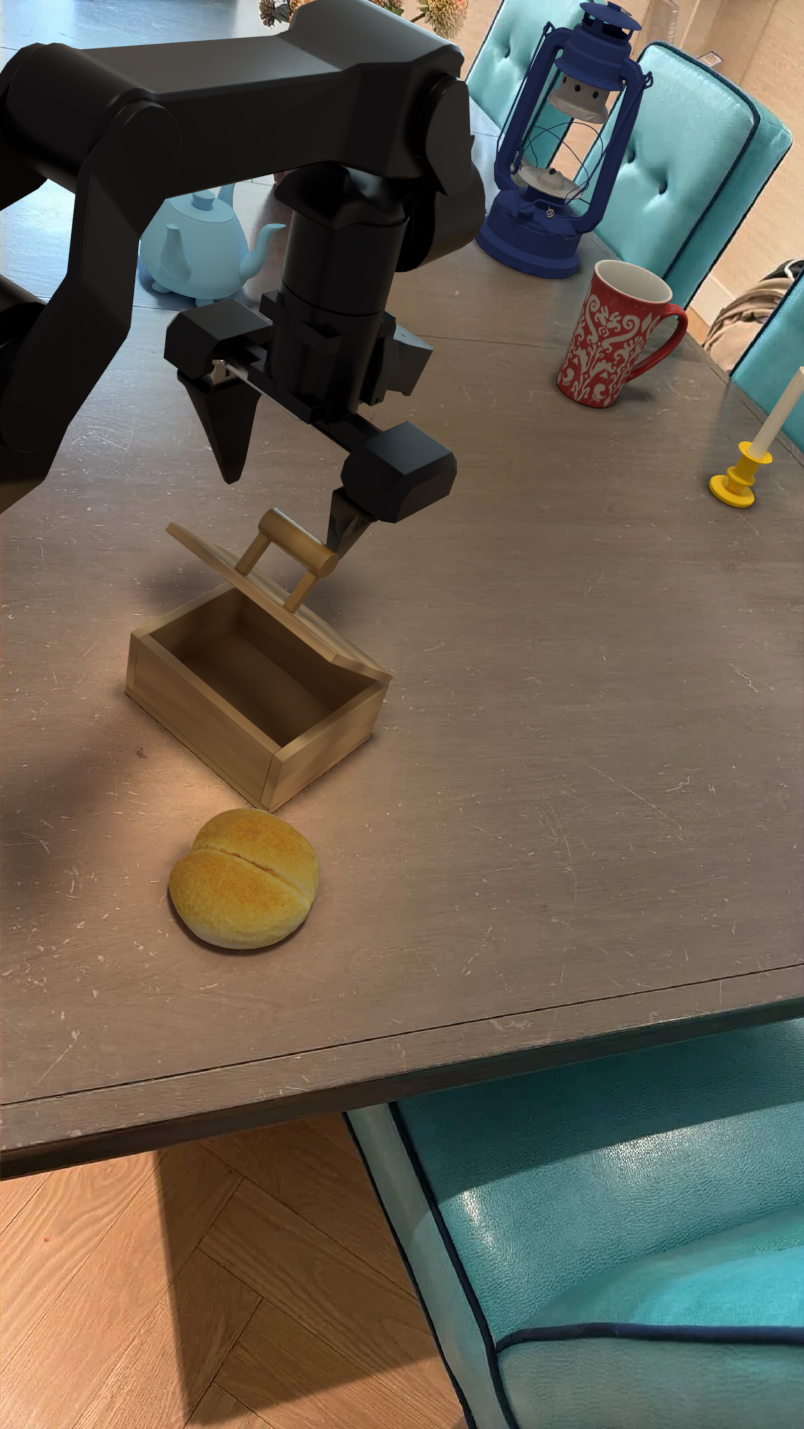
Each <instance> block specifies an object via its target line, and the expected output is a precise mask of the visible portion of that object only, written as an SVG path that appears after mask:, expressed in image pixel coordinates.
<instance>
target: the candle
mask: <svg viewBox="0 0 804 1429" xmlns="http://www.w3.org/2000/svg"><path fill="white" fill-rule="evenodd" d="M803 393H804V366H803V365H802V366H800V367H799V368H798V369H797V371H796V373H795V374H794V375H793V377H792V379H791V380H790V382H789V383H788V385H787V386H786V388H785V389H784V391H783V393H782V395H781V396H780V397H779V399H778V400H777V402H776V404H775V406H774V407H773V409H772V410H771V412H770V414H769V415H768V416H767V418H766V420H765V422H764V423H763V425H762V426H761V428H760V430H759V431H758V433H757V435H756V436H755V438H754V439H753V441H745V440H744V441H741V442H739V444H738V450H739V452H740V453H741V457H740V458H738V460H737V462H736V465H732V466H729V467H728V468H727V470H726V472H725V473H726V475H725V474H717V475H714V476H712V477H711V478H710V480H709V481H708V488H709V490H710V492H711V493H712V495H713V496H715V497H716V499H718V500H719V501H721V502H723V503H725V504H727V505H728V506H731V507H734V508H738V509H746V508H749V507H751V506H752V505H753V503H754V501H755V495H754V493H753V490H751V487H752V486H754V484H755V483H756V479H755V476H754V475H755V474H756V473H757V471H758V469H759V466H761V465H769V464H771V463H772V462H773V456H772V454H771V453H770V452H769V451H768V449H769V448H770V446H771V445H772V443H773V441H774V439H775V438H776V436H777V435H778V433H779V431H780V430H781V428H782V427H783V425H784V424H785V421H786V420H787V419H788V417H789V416H790V414H791V412H792V410H793V409H794V408H795V406H796V404H797V403H798V401H799V399H800V398H801V396H802V394H803ZM728 485H729V486H730V487H729V486H728ZM736 490H739V491H736Z"/></svg>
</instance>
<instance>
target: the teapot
mask: <svg viewBox="0 0 804 1429" xmlns="http://www.w3.org/2000/svg"><path fill="white" fill-rule="evenodd" d="M235 187H236V183H233V184H229V185H224V186H220V189H219V191H218V194H217V196H216V194H215V193H214V192H213V191H211V190H210V189H207V190H203V191H199V192H195V193H190V194H186V195H182V196H178V197H173V198H169V199H166V200H165V201H164V203H163V204H162V206H161V207H160V209H159V210H158V212H157V213H156V215H155V216H154V218H153V219H152V221H151V222H150V224H149V225H148V227H147V228H146V230H145V231H144V233H143V234H142V236H141V238H140V243H139V257H140V260H141V262H142V264H143V265H144V268H145V269H146V271H147V272H148V273H149V274H150V276H151V277H152V278H153V280H154V282H153V283H152V284H151V288H152V290H154V291H155V292H158V293H161V294H168V293H170V292H171V291H172V292H174V293H176V294H179V295H182V296H186V297H189V298H194V299H195V306H197V307H201V306H205V305H209V304H213V303H215V301H214V300H220V299H225V298H228V297H230V296H232V295H233V294H235V293H236V292H238V291H239V290H240V289H241V288H242V287H244V286H245V285H246V284H247V282H248V280H251V279H253V278H255V277H256V276H257V275H258V274H260V272H261V271H262V269H263V267H264V265H265V262H266V259H267V254H268V249H269V244H270V242H271V239H272V237H273V235H275V233H276V232H278V231H280V230H282V229H284V228H286V227H287V225H286V224H284V223H267V224H265V225H264V226H263V227H261V229H260V231H259V233H258V235H257V238H256V243H255V245H254V248H253V250H252V251H251V252H250V250H249V244H248V241H247V237H246V234H245V232H244V229H243V227H242V224H241V222H240V219H239V217H238V216H237V214H236V211H235V210H234V192H235V191H234V190H235Z"/></svg>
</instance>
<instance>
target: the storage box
mask: <svg viewBox="0 0 804 1429" xmlns="http://www.w3.org/2000/svg"><path fill="white" fill-rule="evenodd" d="M129 636H130V637H129V646H128V654H127V666H126V676H125V686H124V693H125V694H126V695H128V696H129V698H131V699H132V700H133V701H134V702H135V703H136V704H138V705H139V706H140V707H141V708H142V709H143V710H145V711H146V712H147V713H148V714H149V715H150V716H151V717H153V719H155V720H156V721H157V722H158V723H159V724H160V725H161V726H163V727H164V728H165V729H166V730H167V731H168V732H170V734H172V736H174V737H175V738H176V739H177V740H179V741H180V742H181V743H182V744H183V745H184V746H185V747H186V748H188V749H189V750H190V751H191V752H192V753H193V754H194V755H196V756H197V758H199V759H200V760H201V761H202V762H204V763H205V764H206V765H207V766H208V767H209V768H210V769H211V770H213V771H214V772H215V773H216V774H217V775H218V776H219V777H221V778H222V780H224V781H225V782H226V783H227V784H228V785H230V786H231V787H232V788H233V789H234V790H235V791H236V792H237V793H239V795H240V796H242V797H243V798H244V799H245V800H247V801H248V802H249V803H250V804H251V805H252V806H253V807H254V808H255V809H259V810H264V811H266V812H268V813H270V814H273V813H274V812H275V811H276V810H278V809H279V808H280V807H281V806H283V805H284V804H285V803H287V802H288V801H289V800H291V799H292V798H294V797H295V796H296V795H297V794H299V793H300V792H301V791H303V790H304V789H305V788H306V787H308V786H309V785H310V784H312V783H313V782H314V781H316V780H317V779H318V778H319V777H321V776H322V775H323V774H325V773H327V771H329V770H330V769H331V768H333V767H334V766H335V765H336V764H338V763H339V762H340V761H342V760H343V759H344V758H346V757H347V756H348V755H350V754H351V753H352V752H353V751H356V749H357V748H359V747H360V746H361V745H363V744H364V743H365V742H367V741H368V740H369V739H370V736H371V734H372V731H373V729H374V727H375V723H376V721H377V719H378V716H379V714H380V711H381V708H382V705H383V702H384V701H385V697H386V695H387V692H388V689H389V687H390V683H389V684H386V683H384V682H381V681H378V680H376V679H373V678H370V677H367V676H365V675H362V674H359V673H357V672H354V671H351V670H349V669H346V668H343V667H340V666H338V665H335V664H332V663H330V662H328V661H327V660H326V659H324V658H323V657H322V656H321V655H319V654H318V653H317V652H316V651H315V650H313V649H312V648H311V647H310V646H308V645H307V644H306V643H305V642H303V641H302V640H301V639H300V638H298V637H297V636H296V635H295V634H293V633H292V632H291V631H290V630H288V629H287V628H286V627H285V626H283V625H282V624H281V623H280V622H278V621H277V620H276V619H275V618H273V617H272V616H271V615H270V614H268V613H267V612H266V611H265V610H263V609H262V608H261V607H260V606H258V605H257V604H256V603H255V602H253V601H252V600H251V599H250V598H249V597H247V596H246V595H245V594H244V593H242V592H241V591H240V590H239V589H237V588H236V587H235V586H234V585H232V584H231V583H230V582H229V581H226V582H223V583H222V584H220V585H218V586H216V587H214V588H212V589H210V590H209V591H206V592H204V593H203V594H201V595H199V596H197V597H195V598H193V599H191V600H189V601H187V602H186V603H184V604H182V605H180V606H177V607H176V608H174V609H172V610H170V611H168V612H166V613H165V614H163V615H161V616H158V617H157V618H155V619H153V620H150V621H149V622H147V623H145V624H143V625H142V626H140V627H138V628H135V629H134V630H132V631H130V634H129Z"/></svg>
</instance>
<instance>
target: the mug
mask: <svg viewBox="0 0 804 1429" xmlns="http://www.w3.org/2000/svg"><path fill="white" fill-rule="evenodd" d="M592 273H593V274H592V277H591V280H590V283H589V286H588V288H587V291H586V294H585V297H584V300H583V302H582V306H581V308H580V312H579V314H578V318H577V321H576V323H575V326H574V329H573V332H572V335H571V336H570V340H569V344H568V345H567V349H566V351H565V355H564V357H563V361H562V363H561V364H560V368H559V372H558V375H557V378H556V384H557V386H558V388H559V390H560V391H561V392H562V393H563V394H564V395H566V396H567V398H569V399H571V400H573V401H575V402H577V403H578V404H581V405H585V406H587V407H591V408H607V407H608V408H609V407H611V406H612V405H613V404H614V403H615V402H616V400H617V398H618V397H619V394H620V393H621V391H622V389H623V386H624V385H626V384H628V383H629V382H631V381H633V380H635V379H637V378H638V377H640V376H642V375H643V374H645V373H647V372H648V371H649V370H651V369H652V368H654V367H655V366H657V365H658V364H660V363H661V362H662V361H663V360H665V359H666V358H667V357H668V356H669V355H670V354H671V353H672V352H674V350H675V349H676V348H677V347H678V346H679V344H680V343H681V342H682V340H683V338H684V337H685V335H686V333H687V330H688V326H689V317H688V315H687V313H686V311H685V310H684V308H683V307H682V306H680V305H678V304H675V303H670V302H671V301H672V300H673V296H674V294H673V291H672V289H671V287H670V286H669V284H667V283H666V282H665V281H664V280H663V279H662V278H661V277H660V276H658V275H656V274H655V273H654V272H651V271H650V270H648V269H646V268H644V267H642V266H639V265H636V264H633V263H630V262H628V261H627V262H626V261H623V260H616V259H603V260H599V261H598V262H596V263H595V264H594V267H593V272H592ZM672 316H676V317H678V321H677V325H676V327H675V329H674V331H673V333H672V334H671V335H670V337H669V338H668V339H666V341H665V342H664V343H663V344H662V345H661V346H660V347H658V349H656V350H655V351H654V352H651V354H649V355H648V356H646V357H645V358H644V359H642V360H641V361H639V362H637V360H638V358H639V357H640V355H641V353H642V352H643V349H644V348H645V346H646V344H647V342H648V340H649V338H650V336H651V335H652V333H653V332H654V329H655V328H657V326H658V325H659V324H660V323H661V322H662V321H664V320H665V319H667V318H669V317H672Z"/></svg>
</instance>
